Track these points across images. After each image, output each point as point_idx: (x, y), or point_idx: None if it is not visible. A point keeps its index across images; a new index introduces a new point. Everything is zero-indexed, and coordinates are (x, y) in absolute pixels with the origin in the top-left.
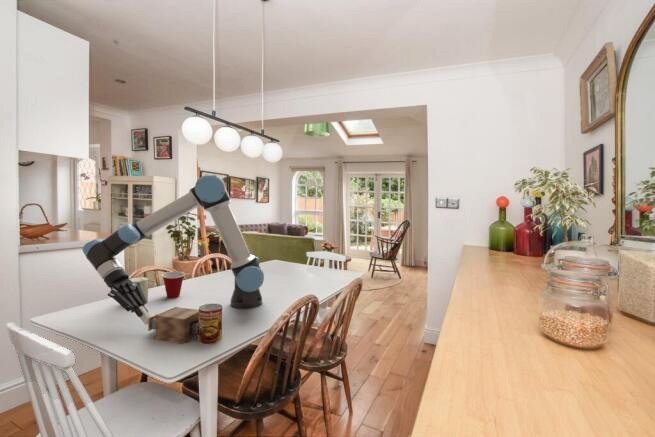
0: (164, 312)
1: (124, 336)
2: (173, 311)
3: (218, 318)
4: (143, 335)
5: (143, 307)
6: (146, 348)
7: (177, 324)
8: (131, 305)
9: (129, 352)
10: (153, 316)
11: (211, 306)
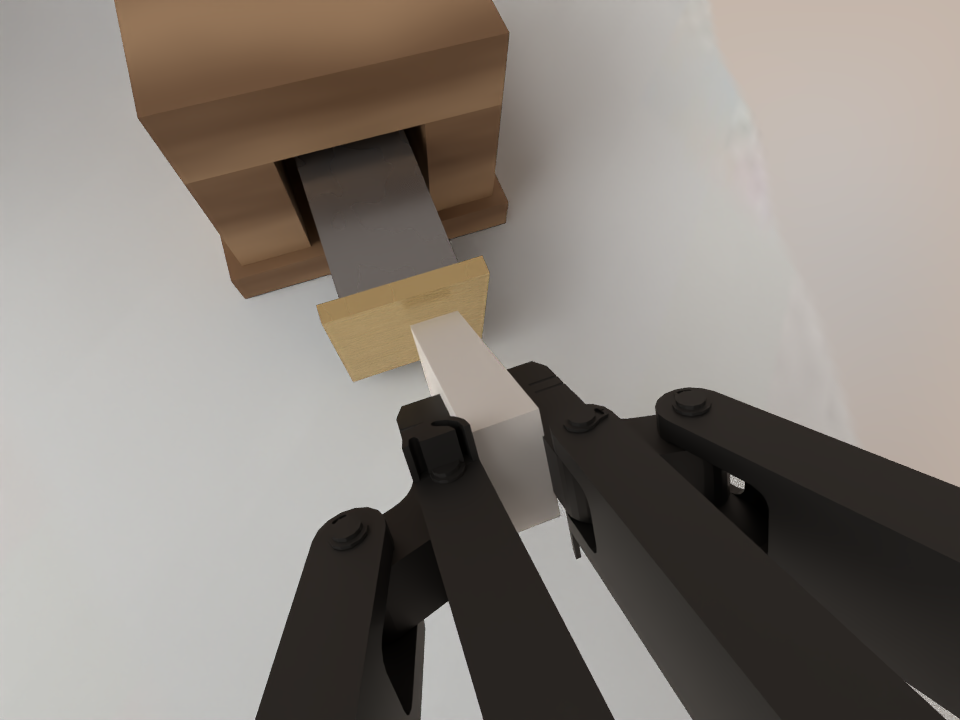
0: (380, 43)
1: None
2: (291, 1)
3: None
4: (518, 356)
5: (466, 409)
6: (609, 129)
7: None
8: (706, 407)
9: (712, 155)
10: (415, 276)
11: None
